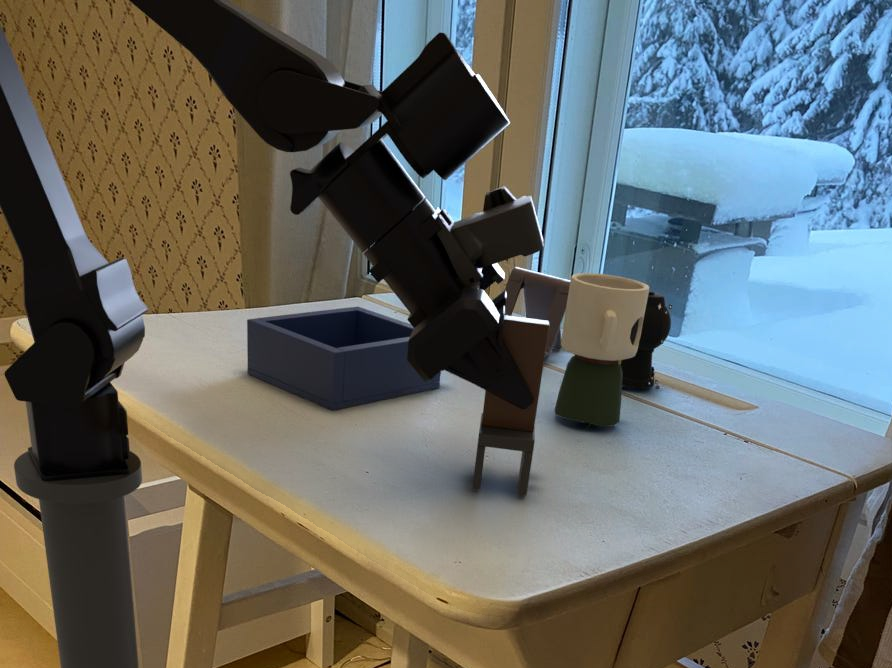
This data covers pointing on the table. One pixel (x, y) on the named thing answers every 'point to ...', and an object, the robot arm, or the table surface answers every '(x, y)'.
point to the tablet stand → (540, 300)
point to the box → (335, 356)
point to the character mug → (599, 345)
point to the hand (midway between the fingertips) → (529, 401)
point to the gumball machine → (647, 344)
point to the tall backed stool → (504, 419)
